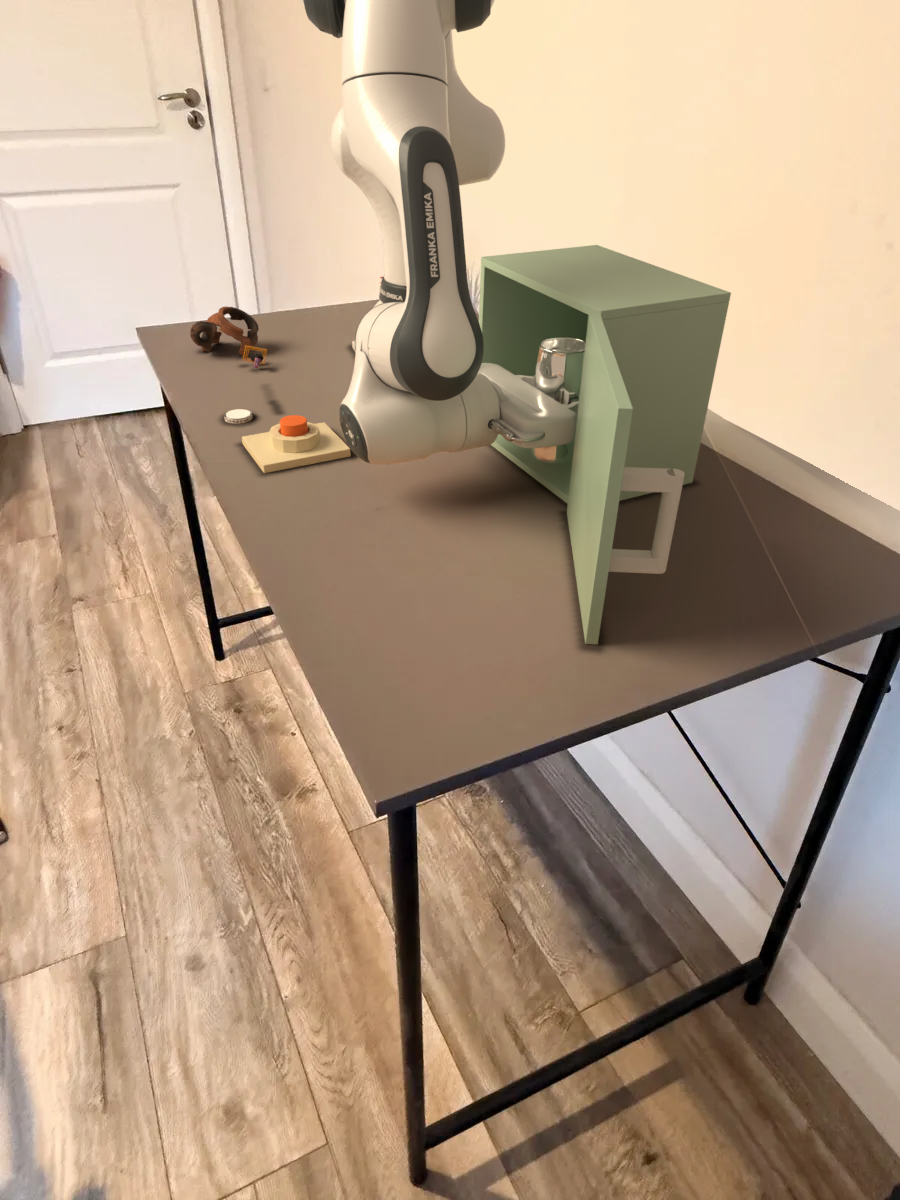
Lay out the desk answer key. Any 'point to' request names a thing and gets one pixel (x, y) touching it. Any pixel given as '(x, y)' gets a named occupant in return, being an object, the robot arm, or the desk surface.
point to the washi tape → (238, 416)
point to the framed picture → (255, 356)
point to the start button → (293, 426)
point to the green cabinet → (636, 333)
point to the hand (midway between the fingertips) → (565, 394)
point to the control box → (295, 447)
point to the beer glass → (558, 385)
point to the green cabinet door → (609, 483)
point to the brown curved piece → (225, 329)
